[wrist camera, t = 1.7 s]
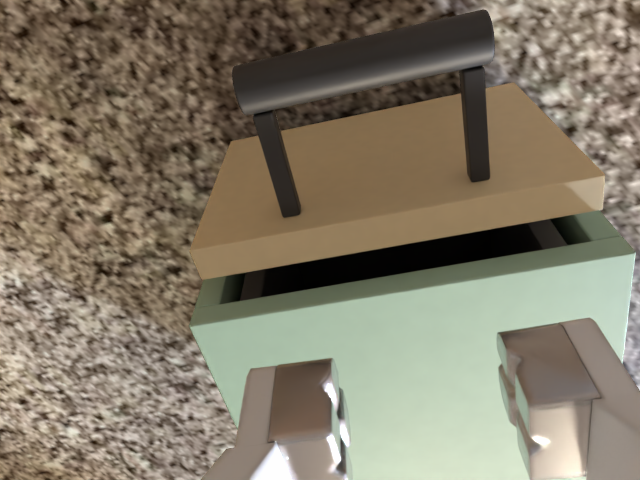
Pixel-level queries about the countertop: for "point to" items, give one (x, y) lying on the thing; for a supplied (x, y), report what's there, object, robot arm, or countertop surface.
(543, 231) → the drawer
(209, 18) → the countertop surface
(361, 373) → the cabinet
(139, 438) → the countertop surface
